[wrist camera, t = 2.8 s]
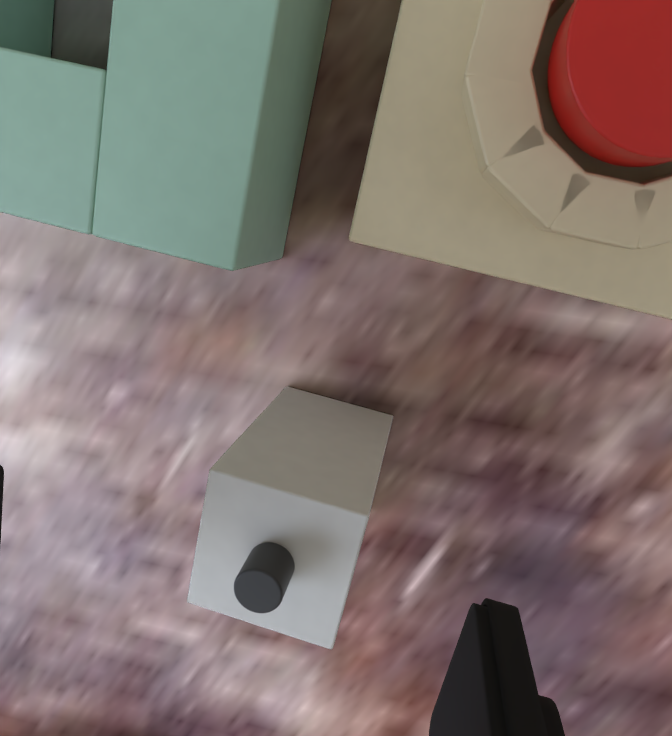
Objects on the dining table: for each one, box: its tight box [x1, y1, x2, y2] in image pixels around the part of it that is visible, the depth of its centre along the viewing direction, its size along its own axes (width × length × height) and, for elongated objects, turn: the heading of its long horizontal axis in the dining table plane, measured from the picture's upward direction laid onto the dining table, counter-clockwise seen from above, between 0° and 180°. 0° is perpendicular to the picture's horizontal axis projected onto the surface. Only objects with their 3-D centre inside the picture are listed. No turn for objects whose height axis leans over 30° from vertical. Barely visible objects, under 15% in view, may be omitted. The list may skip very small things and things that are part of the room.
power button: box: [547, 0, 672, 167], centre depth 10 cm, size 4×4×2 cm
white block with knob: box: [187, 386, 393, 649], centre depth 14 cm, size 3×3×7 cm
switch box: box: [349, 0, 672, 320], centre depth 12 cm, size 10×9×4 cm
